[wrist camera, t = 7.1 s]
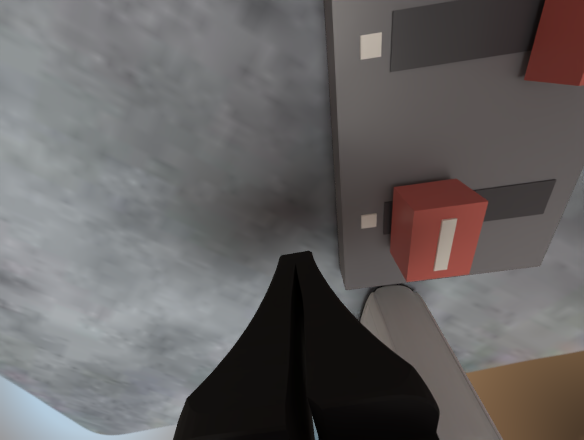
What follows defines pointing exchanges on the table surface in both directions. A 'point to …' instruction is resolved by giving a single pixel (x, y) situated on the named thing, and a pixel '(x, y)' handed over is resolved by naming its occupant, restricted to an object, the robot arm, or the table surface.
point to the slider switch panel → (446, 126)
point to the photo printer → (429, 360)
